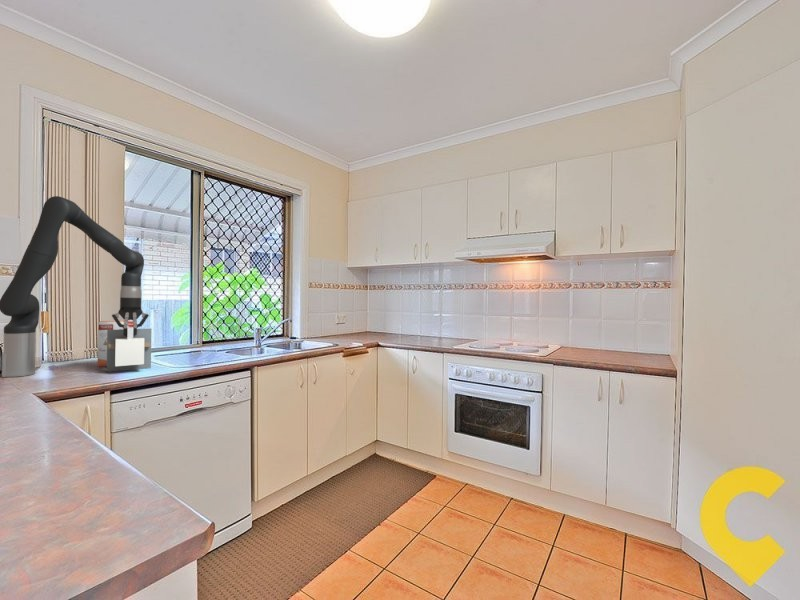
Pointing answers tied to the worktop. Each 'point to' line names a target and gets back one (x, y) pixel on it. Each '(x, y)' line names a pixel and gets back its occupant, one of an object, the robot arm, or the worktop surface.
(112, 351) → the wall board
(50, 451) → the worktop surface
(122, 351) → the white block
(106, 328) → the cracker box
